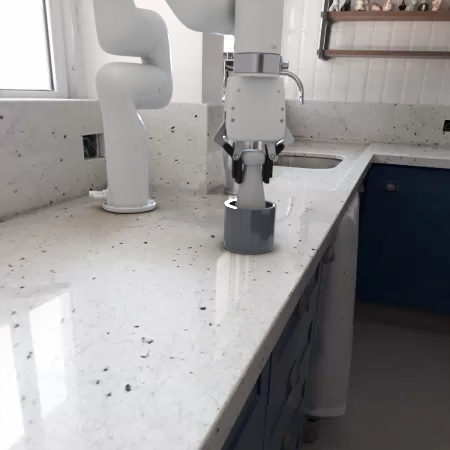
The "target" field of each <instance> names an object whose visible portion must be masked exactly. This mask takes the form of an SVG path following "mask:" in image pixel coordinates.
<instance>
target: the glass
mask: <svg viewBox="0 0 450 450" xmlns="http://www.w3.org/2000/svg"><path fill="white" fill-rule="evenodd" d="M223 139H224V140H225V141H226V142H227V143H229V144H230V145H231V146H232V143H233V140H230V139H229V138H226V137H225V136H223ZM253 147H254V142H251V141H244V142H243V146H242V150H241V153H242V152H243V151H244V150H253ZM220 152H221V153H220V154H221V167H222V178H223V179H222V180H223V193H224V194H227V195H233V196H234V195H236V196H237V194H238V189H239V184H237V183H236V182H235V178H232V158H231V157H230V155H229V154H228V153H227V152H226V151H225V150H224V149H223V148H222V147H220ZM240 156H241V154H240ZM243 166H244V164H243ZM242 170H243V167H242Z"/></svg>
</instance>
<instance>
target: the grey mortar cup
mask: <svg viewBox="0 0 450 450" xmlns="http://www.w3.org/2000/svg"><path fill="white" fill-rule="evenodd" d="M236 199H237V198H235V199H230V200H227V201H225V202H224V210H223V211H224V213H223V214H224V215H223V247H224V249H225V250H227V251H229V252H232V253H235V254H242V255H261V254H267V253H270V252H272V251H273V250H274V247H275V237H276V223H277V207H278V205H277V203H275V202H274V201H270V200H267V199H265V204H266V208H264V209H243V208H237V207H235V203H236Z"/></svg>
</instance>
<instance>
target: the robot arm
mask: <svg viewBox="0 0 450 450" xmlns="http://www.w3.org/2000/svg"><path fill="white" fill-rule="evenodd" d="M91 1H92V7H93V16H94V23H95V31H96V37H97V41H98V45H99V47H100V49H101V51H103V52H105V53H107V54H109V55H111V56H112V55H113V56H119V57H131V58H140V61H141V62H140V63H139V62H129V61H128V62H127V61H111V62H107V63H105V64H103V65H101V66H100V68H98V70H97V72H96V75H95V81H94V82H95V90H96V95H97V99H98V102H99V103H98V104H99V107H100V112H101V119H102V126H103V140H104V152H105V166H106V167H105V168H106V181H107V186H106V189H102V190H101V191H100V190H98V191H97V190H89V191H88V196H89V197H88V198H89V200H93V201H103V202H102V205H101V206H102V209H103V210H104V211H106V212H107V211H108V212H110V213H120V214H135V213H144V212H148V211H153V210H154V209H155V208H156V207H157V205H156V201H155V200H153V199H151V198H150V191H149V190H150V189H149V165H148V140H147V139H148V138H147V129H146V126H145V123H144V122H143V120H142V118H141V116H140V115H139V113H138V110H160V109H164V108H166V107H167V106H168V105H169V104H170V103H171V100H172V98H173V91H174V81H173V65H172V56H171V55H172V54H171V53H172V52H171V41H170V34H169V29H168V25H167V24H166V21H165V20H164V18H163V17H162V15H160V13H158V12H156V11H154V10H152V9H149V8H148V9H147V8H141V7H137V5H136V3H135V0H91ZM164 1H165V3H166V4H167V6H168V7H169V9H170V10H171V12H172V13H173V14H174V16H175V17H176V18H177V19H178V21H179V22H180V23H181V24H182V25H183V26H184V27H186V28H187V29H188V30H191V31H194V32H198V33H205V34H214V35H220V36H227V37H233V68H232V69H233V72H232V73H233V74H232V76H228V77H227V81H226V87H225V91H224V92H225V93H224V103H223V116H222V122H221V123H220V126H219V127H218V128H217V130H216V132H215V133H214V134H213V136H212V138H211V141H213V142H214V144H216V145H217V146H219V147H220V148H221V147H222V148H223V149H224V150H225V151H226V152H227V153H228V154H229V155H230V157H231V158H232V178H235V182H236V183H237V184H241V183H242V167H243V161H242V160H241V156H240V154H241V150H242V146H243V142H244V141H251V142H253V143H254V142H255V143H256V142H259V143H260V142H261V143H263V149H264V153H265V163H264V164H263V165H261V172H262V180H263V184H266V185H269V184H270V181H271V180H270V179H272V178H273V175H274V174H273V173H274V161H275V160H276V159H277V157H278V156H279V155H280V154H281V152H283V151H284V149H286V148H287V147H289V146H290V145H292V144H293V143H294V142H295V138H294V136H293V134H292V132H291V130H290V129H289V127H288V125H287V124H286V121H287V119H286V118H287V116H286V112H287V111H286V107H287V106H286V92H285V82H284V77H280V74H282V71H288V70H289V69H290V62H289V61H288V60H285V59H283V55H282V44H283V43H282V41H283V40H282V39H283V24H284V9H285V8H284V7H285V0H164ZM223 136H225V137H226V138H229V139H230V140H233V143H232V146H231V145H230V144H229V143H227V142H226V141H225V140H224V139H223ZM275 142H276V143H275Z"/></svg>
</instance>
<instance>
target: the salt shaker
mask: <svg viewBox="0 0 450 450" xmlns="http://www.w3.org/2000/svg"><path fill="white" fill-rule="evenodd" d="M241 160H242V161H243V164H244V166H243V170H242V183H241V184H239V189H238V194H237V195H236V198H235V199H236V203H235V207H237V208H243V209H264V208H266V204H265V200H266V196H265V189H264V182H263V180H262V165H263V164H264V163H265V151H263V150H262V149H261V150H260V149H252V150H244V151H243V152H242V153H241Z"/></svg>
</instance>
